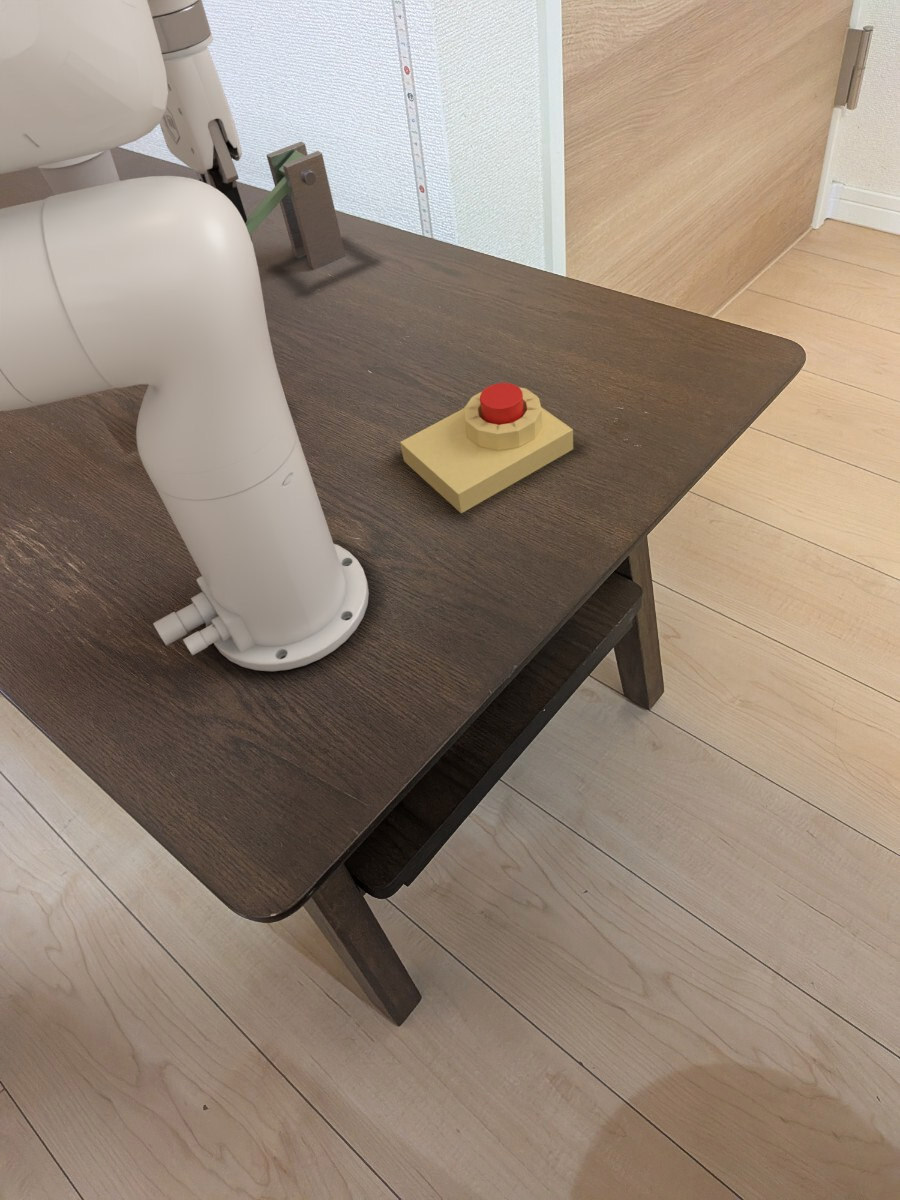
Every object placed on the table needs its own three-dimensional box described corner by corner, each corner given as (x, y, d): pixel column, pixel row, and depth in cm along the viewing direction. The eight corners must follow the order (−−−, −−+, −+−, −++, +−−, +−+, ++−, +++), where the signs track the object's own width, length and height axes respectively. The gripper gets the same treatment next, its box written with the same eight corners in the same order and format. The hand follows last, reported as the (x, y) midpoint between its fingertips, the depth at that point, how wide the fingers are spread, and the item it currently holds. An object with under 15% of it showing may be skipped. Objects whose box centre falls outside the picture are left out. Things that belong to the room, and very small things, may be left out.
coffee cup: (164, 235, 110) (116, 113, 98) (135, 272, 104) (80, 146, 92) (101, 238, 112) (46, 118, 100) (68, 274, 106) (6, 151, 94)
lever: (243, 265, 92) (223, 244, 89) (231, 255, 93) (212, 235, 91) (322, 176, 91) (304, 153, 88) (308, 168, 93) (291, 145, 90)
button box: (461, 513, 68) (455, 477, 65) (403, 461, 73) (396, 425, 70) (573, 449, 71) (573, 412, 68) (510, 403, 77) (507, 367, 74)
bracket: (304, 292, 95) (273, 178, 85) (274, 268, 100) (241, 158, 90) (370, 263, 98) (347, 149, 88) (338, 241, 102) (312, 130, 93)
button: (498, 431, 69) (496, 414, 67) (473, 412, 71) (471, 395, 69) (532, 412, 70) (531, 395, 68) (506, 394, 72) (505, 377, 70)
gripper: (104, 27, 79) (175, 216, 93) (159, 58, 71) (229, 261, 84) (175, 4, 81) (234, 193, 95) (237, 32, 73) (292, 234, 87)
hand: (231, 224), depth 90 cm, fingers closed
